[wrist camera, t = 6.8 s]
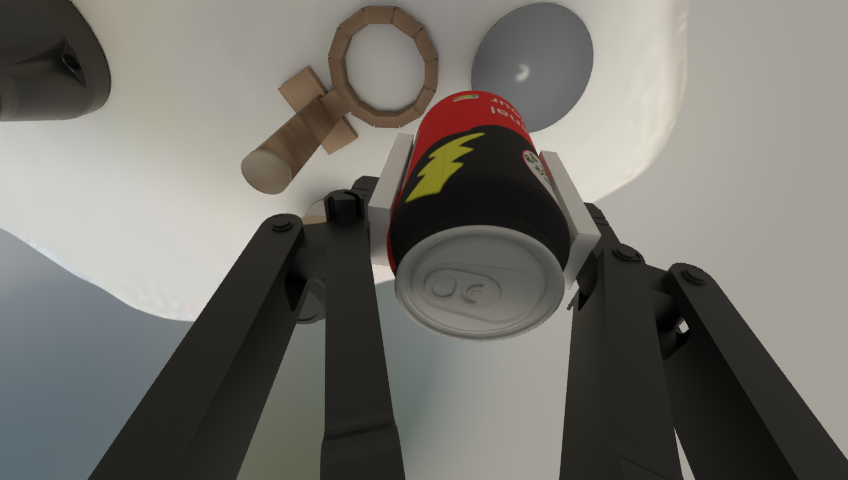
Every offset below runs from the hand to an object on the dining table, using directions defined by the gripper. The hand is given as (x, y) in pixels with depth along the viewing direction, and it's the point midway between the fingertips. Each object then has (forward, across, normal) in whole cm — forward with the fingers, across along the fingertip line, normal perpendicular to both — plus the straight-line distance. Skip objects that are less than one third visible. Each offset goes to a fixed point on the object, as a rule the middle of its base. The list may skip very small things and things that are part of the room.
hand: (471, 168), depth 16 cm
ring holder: (+19, -10, -2) cm, 21 cm away
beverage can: (+4, 0, 0) cm, 4 cm away
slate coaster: (+19, +6, +1) cm, 20 cm away
